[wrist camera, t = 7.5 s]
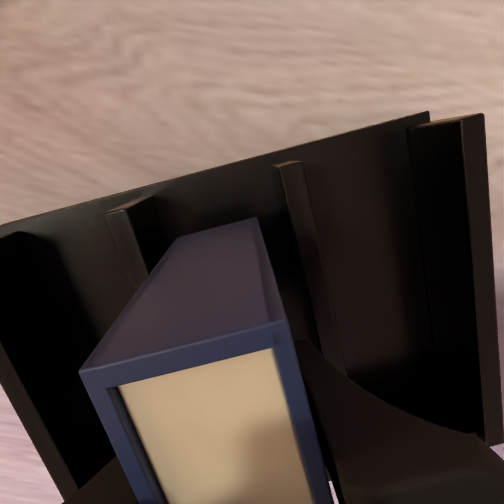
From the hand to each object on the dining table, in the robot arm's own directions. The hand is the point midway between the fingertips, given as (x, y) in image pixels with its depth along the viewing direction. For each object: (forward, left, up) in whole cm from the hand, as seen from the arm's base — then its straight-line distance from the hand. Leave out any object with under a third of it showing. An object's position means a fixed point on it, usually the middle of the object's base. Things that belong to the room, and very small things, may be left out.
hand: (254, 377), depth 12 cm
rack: (0, 0, -5) cm, 5 cm away
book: (0, 0, -2) cm, 2 cm away
